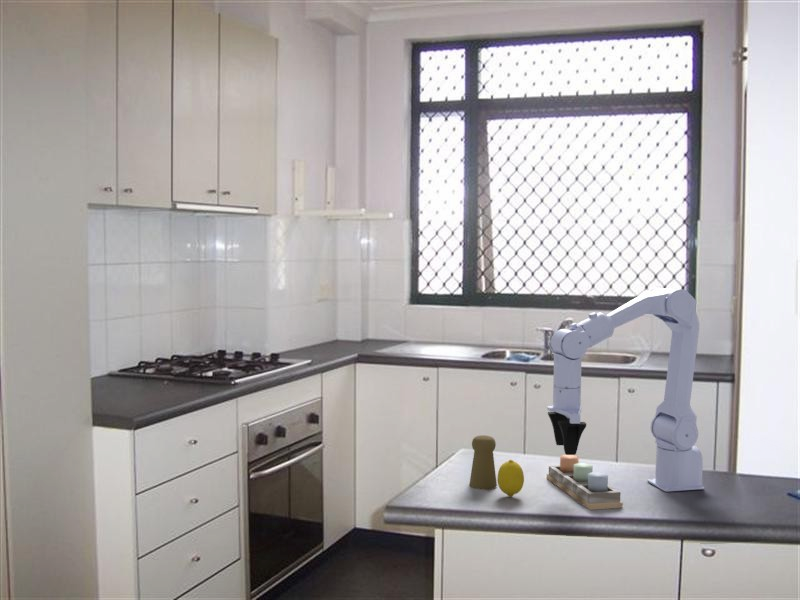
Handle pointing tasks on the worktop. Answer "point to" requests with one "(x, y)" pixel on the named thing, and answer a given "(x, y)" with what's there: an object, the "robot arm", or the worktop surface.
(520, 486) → the lemon
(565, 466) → the button terracotta
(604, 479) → the button slate
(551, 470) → the panel
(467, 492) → the worktop surface
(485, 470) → the pepper mill
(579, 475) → the button sage
